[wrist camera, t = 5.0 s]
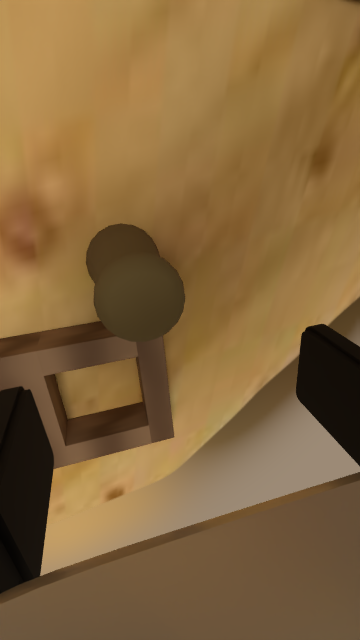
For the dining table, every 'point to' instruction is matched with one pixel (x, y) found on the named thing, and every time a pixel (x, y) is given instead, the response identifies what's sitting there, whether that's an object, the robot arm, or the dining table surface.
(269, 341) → the dining table surface
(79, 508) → the dining table surface
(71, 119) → the dining table surface
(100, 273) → the olive peg
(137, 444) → the socket board
